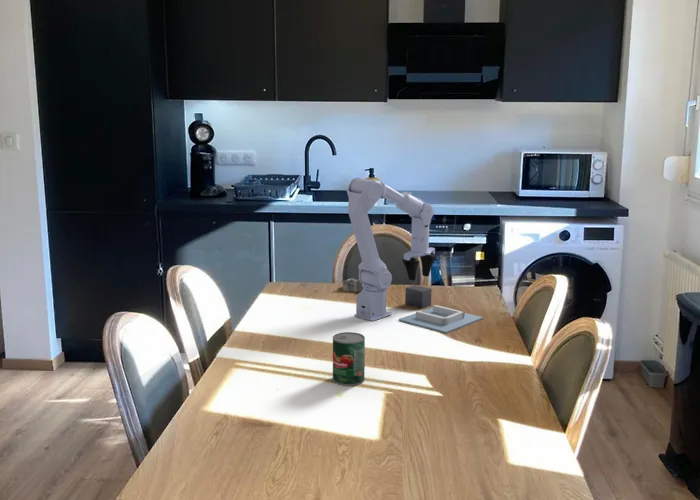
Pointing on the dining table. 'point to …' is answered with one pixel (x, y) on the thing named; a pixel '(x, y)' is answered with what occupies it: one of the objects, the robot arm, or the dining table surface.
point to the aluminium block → (418, 296)
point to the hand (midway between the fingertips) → (418, 277)
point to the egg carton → (352, 285)
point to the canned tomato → (348, 358)
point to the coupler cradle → (441, 319)
